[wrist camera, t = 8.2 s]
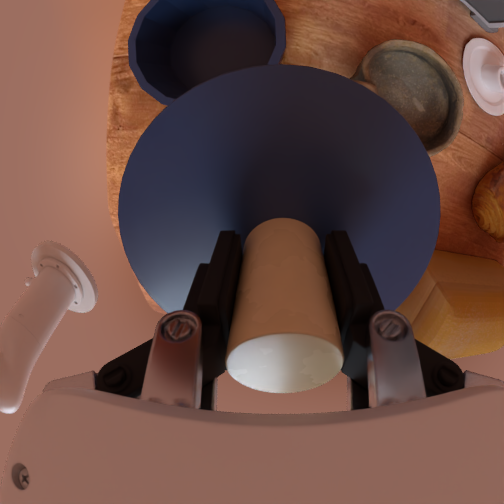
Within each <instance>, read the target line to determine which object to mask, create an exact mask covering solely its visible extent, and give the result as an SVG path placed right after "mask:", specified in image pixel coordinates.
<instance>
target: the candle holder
mask: <svg viewBox="0 0 504 504" xmlns="http://www.w3.org/2000/svg"><path fill="white" fill-rule="evenodd" d="M463 70H464V76H465V80H466V83H467V86H468V88H469V91H470V93H471V95H472V97H473V98H474V100H475V101H476V103H477V104H478V105H479V106H480V107H481V108H482V109H483V110H484V111H485V112H487V113H489V114H491V115H495V116H498V115H502V114H504V55H503V54H502V53H501V51H500V50H499V49H498V48H497V47H496V46H495V45H494V44H493V43H491V42H490V41H488V40H486V39H483V38H473V39H472V40H470V41H469V42H468V43H467V44H466V47H465V50H464V54H463Z"/></svg>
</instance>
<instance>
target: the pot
mask: <svg viewBox="0 0 504 504" xmlns="http://www.w3.org/2000/svg"><path fill="white" fill-rule="evenodd" d="M285 48H286V30H285V19H284V16H283V14H282V12H281V11H280V9H279V7H278V6H277V4H276V2H275V1H274V0H150V2H149V3H148V4H147V5H146V6H145V7H144V8H143V9H142V11H141V12H140V13H139V14H138V16H137V18H136V20H135V23H134V26H133V28H132V31H131V34H130V36H129V39H128V53H129V66H130V68H131V70H132V72H133V74H134V76H135V77H136V79H137V81H138V83H139V85H140V87H141V88H142V89H143V90H144V91H146V92H147V93H148V94H150V95H151V96H152V97H153V98H155V99H156V100H157V101H159V102H160V103H161V104H163V105H167V106H168V105H169V104H170V103H172V102H173V101H174V100H175V99H177V98H178V97H180V96H181V95H183V94H184V93H186V92H187V91H189V90H190V89H192V88H193V87H195V86H197V85H199V84H201V83H203V82H205V81H207V80H210V79H212V78H214V77H216V76H219V75H221V74H224V73H228V72H231V71H235V70H239V69H243V68H247V67H253V66H263V65H276V64H280V63H281V61H282V58H283V55H284V52H285Z"/></svg>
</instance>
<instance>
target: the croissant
mask: <svg viewBox="0 0 504 504" xmlns="http://www.w3.org/2000/svg"><path fill="white" fill-rule="evenodd" d="M472 209H473V215H474V217H475V220H476V222H477V224H478V226H479V227H480V228H482V229H483V230H484V231H485V232H487V233H489V234H490V236H492V237H493V238H495V240H496V242H499V243H503V242H504V162H502V163H501V164H500V165H498V166H496V167H495V168H494V169H492V170H491V171H489V172H488V173H487V174H486V175H485V176H484V177H483V178H482V180H481V181H480V182H479V184H478V186H477V187H476V189H475V194H474V196H473V199H472ZM496 238H497V239H496Z"/></svg>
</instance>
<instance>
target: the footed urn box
mask: <svg viewBox="0 0 504 504" xmlns="http://www.w3.org/2000/svg"><path fill="white" fill-rule="evenodd" d="M460 1H461V2H463V3H464V4H465V5H466V6H467V7H468V8H469V9H470V10H472V11H471V15H470V16H471V17H472V18H473V19H474V20H475V21H476V22H477V23H478V24H479V25H480V26H481V27H482V28H483V29H484V30H485V31H486V32H489V33H494V32H498V28H499V27H504V0H460Z"/></svg>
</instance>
